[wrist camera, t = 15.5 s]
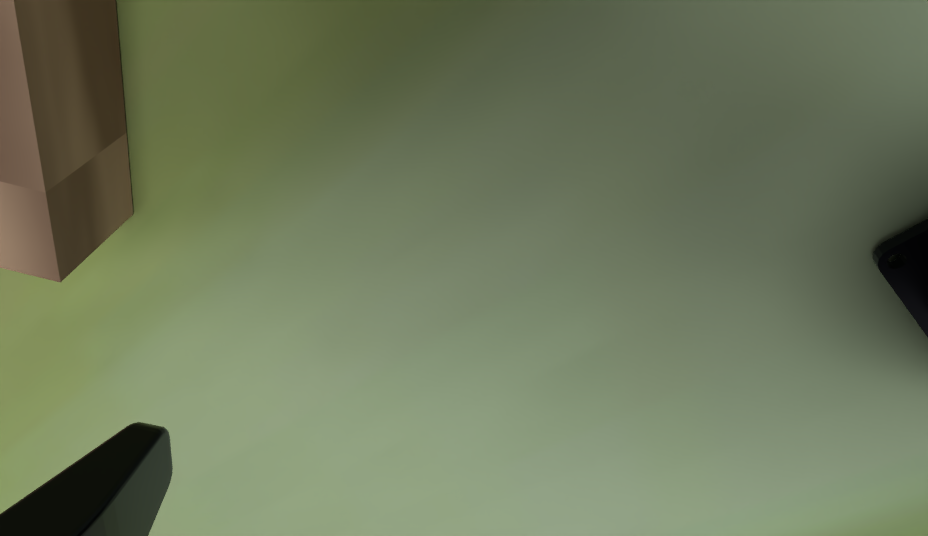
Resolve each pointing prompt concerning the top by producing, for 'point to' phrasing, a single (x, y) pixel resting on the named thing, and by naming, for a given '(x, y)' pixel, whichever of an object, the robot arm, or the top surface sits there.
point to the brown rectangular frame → (60, 134)
